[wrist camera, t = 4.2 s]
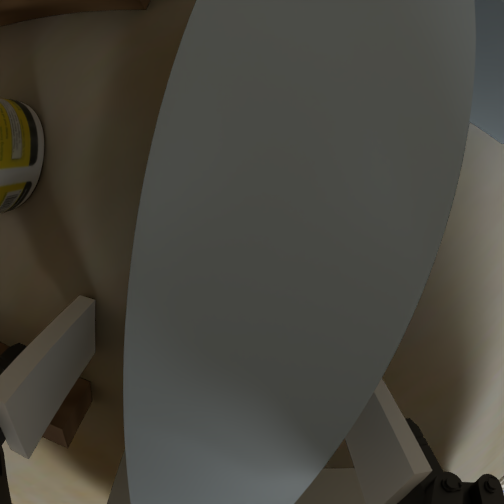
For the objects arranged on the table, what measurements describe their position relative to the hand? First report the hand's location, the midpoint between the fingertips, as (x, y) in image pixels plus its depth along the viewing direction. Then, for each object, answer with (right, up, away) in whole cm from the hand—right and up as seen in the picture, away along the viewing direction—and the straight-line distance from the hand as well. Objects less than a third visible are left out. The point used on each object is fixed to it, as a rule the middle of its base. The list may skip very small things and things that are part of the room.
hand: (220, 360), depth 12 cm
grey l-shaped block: (+5, +5, -1) cm, 8 cm away
